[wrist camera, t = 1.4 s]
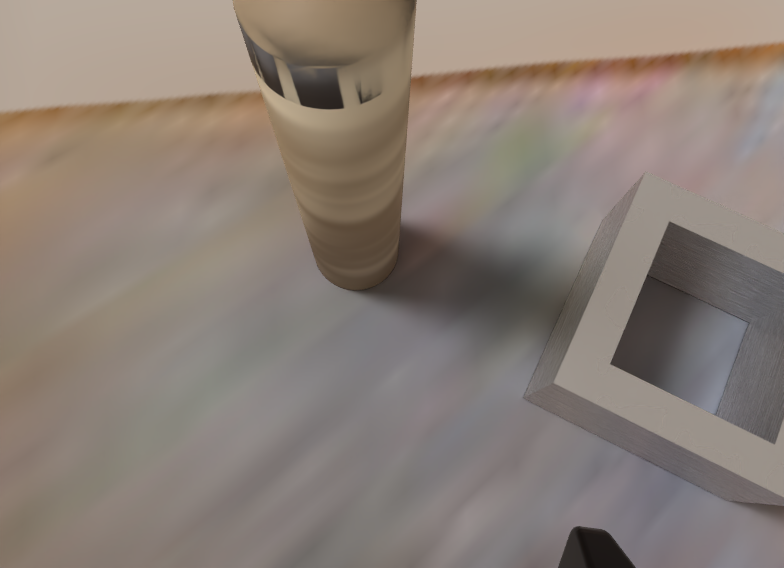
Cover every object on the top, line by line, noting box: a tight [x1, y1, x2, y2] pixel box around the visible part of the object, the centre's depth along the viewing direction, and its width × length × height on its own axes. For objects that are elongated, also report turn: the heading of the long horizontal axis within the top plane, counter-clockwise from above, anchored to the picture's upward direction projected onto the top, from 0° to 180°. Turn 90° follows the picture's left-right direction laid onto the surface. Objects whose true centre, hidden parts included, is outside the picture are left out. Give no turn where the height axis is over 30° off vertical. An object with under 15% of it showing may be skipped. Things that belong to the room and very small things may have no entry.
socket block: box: [523, 172, 784, 506], centre depth 20 cm, size 7×7×4 cm
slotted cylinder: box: [233, 0, 416, 290], centre depth 17 cm, size 3×3×13 cm
